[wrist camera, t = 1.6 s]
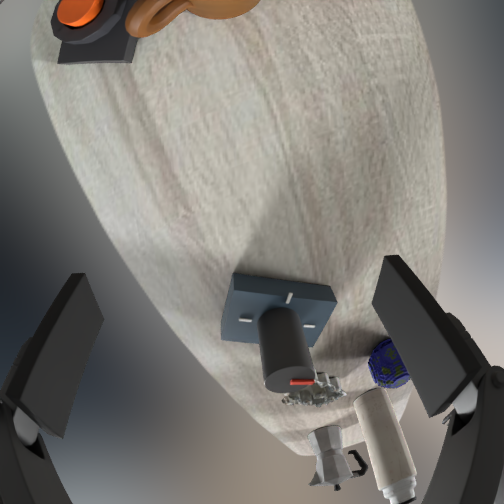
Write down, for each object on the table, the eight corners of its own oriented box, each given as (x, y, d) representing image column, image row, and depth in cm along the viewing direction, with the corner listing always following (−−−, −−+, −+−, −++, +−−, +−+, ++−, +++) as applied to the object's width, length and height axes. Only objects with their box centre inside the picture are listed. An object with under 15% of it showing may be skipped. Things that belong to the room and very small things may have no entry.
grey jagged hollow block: (275, 383, 44) (278, 403, 41) (310, 362, 42) (315, 382, 38) (312, 397, 49) (316, 415, 45) (344, 379, 46) (350, 397, 43)
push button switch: (62, 65, 17) (40, 64, 14) (87, -21, 12) (70, -32, 9) (131, 63, 19) (115, 58, 15) (159, -28, 14) (149, -44, 10)
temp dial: (252, 335, 33) (258, 395, 26) (263, 305, 30) (273, 367, 23) (291, 338, 34) (305, 395, 26) (305, 309, 31) (324, 368, 24)
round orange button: (62, 29, 13) (52, 26, 12) (73, -6, 11) (64, -11, 10) (97, 25, 14) (88, 21, 12) (109, -12, 12) (101, -17, 10)
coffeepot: (298, 442, 63) (308, 498, 48) (301, 430, 58) (313, 494, 43) (351, 430, 64) (366, 484, 48) (359, 418, 59) (377, 477, 43)
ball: (405, 323, 39) (425, 358, 33) (405, 347, 43) (422, 379, 37) (361, 344, 41) (377, 382, 34) (366, 366, 45) (380, 400, 38)
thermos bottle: (363, 408, 55) (394, 508, 32) (346, 403, 52) (377, 515, 28) (391, 391, 53) (428, 493, 29) (376, 385, 49) (416, 500, 26)
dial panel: (220, 325, 36) (220, 344, 33) (234, 268, 31) (234, 286, 28) (306, 333, 38) (311, 351, 35) (332, 282, 33) (340, 299, 31)
